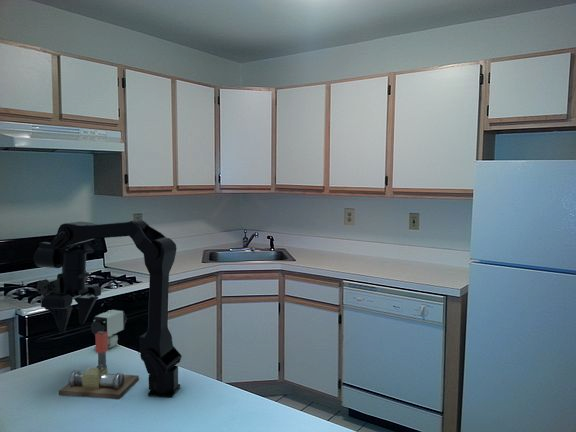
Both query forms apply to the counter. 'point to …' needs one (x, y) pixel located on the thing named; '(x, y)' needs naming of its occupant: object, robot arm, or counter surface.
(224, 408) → the counter surface
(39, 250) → the robot arm
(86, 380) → the valve body
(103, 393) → the mounting board
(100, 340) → the lever
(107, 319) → the pneumatic valve
